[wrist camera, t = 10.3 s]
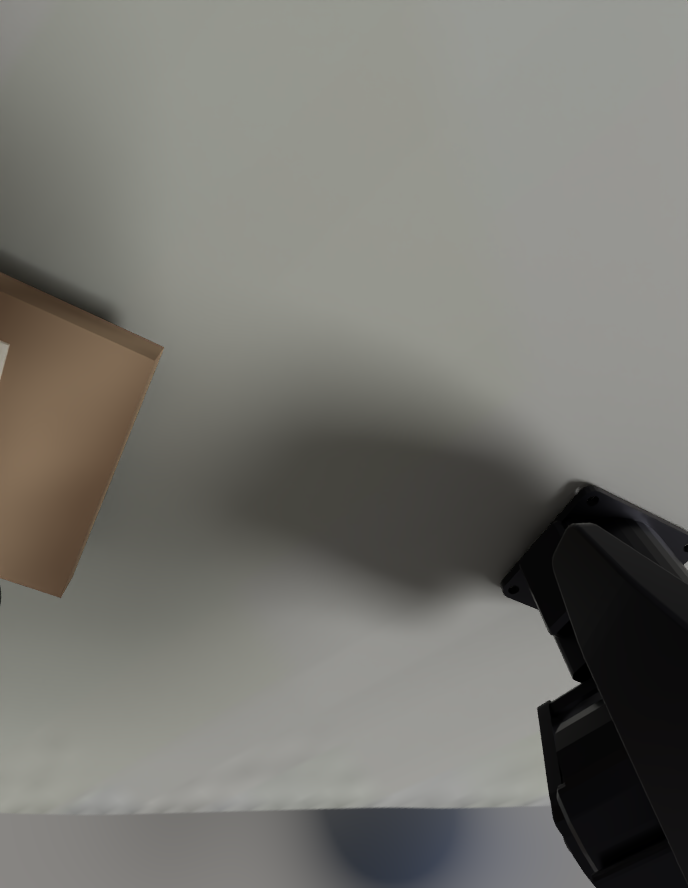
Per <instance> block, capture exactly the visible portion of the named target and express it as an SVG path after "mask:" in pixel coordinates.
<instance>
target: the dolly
mask: <svg viewBox="0 0 688 888" xmlns="http://www.w3.org/2000/svg"><path fill="white" fill-rule="evenodd" d="M163 349H164V347H162V346H160V345H158V344H156V343H154V342H151V341H149V340H147V339H145V338H143V337H141V336H138V335H136V334H134V333H132V332H130V331H127V330H125V329H123V328H121V327H119V326H117V325H114V324H112V323H110V322H108V321H106V320H104V319H101V318H99V317H97V316H95V315H93V314H91V313H88V312H86V311H84V310H82V309H80V308H77V307H75V306H73V305H71V304H69V303H67V302H64V301H62V300H60V299H58V298H56V297H54V296H51V295H49V294H47V293H45V292H43V291H40V290H38V289H36V288H34V287H32V286H30V285H27V284H25V283H23V282H21V281H19V280H17V279H14V278H12V277H10V276H8V275H6V274H3V273H1V272H0V578H2V579H5V580H8V581H11V582H14V583H17V584H20V585H23V586H26V587H29V588H32V589H35V590H38V591H41V592H44V593H47V594H51V595H54V596H57V597H60V598H61V596H62V595H63V593H64V591H65V589H66V588H67V586H68V584H69V582H70V580H71V579H72V577H73V575H74V572H75V570H76V567H77V565H78V562H79V560H80V557H81V555H82V552H83V550H84V547H85V545H86V542H87V539H88V537H89V534H90V532H91V529H92V527H93V524H94V522H95V519H96V517H97V514H98V512H99V509H100V507H101V504H102V502H103V499H104V497H105V494H106V492H107V489H108V487H109V484H110V482H111V479H112V477H113V474H114V472H115V469H116V467H117V464H118V462H119V459H120V457H121V454H122V452H123V449H124V447H125V444H126V442H127V439H128V437H129V434H130V432H131V429H132V427H133V424H134V422H135V419H136V417H137V414H138V412H139V409H140V407H141V404H142V402H143V399H144V397H145V394H146V392H147V389H148V387H149V384H150V382H151V379H152V377H153V374H154V372H155V369H156V367H157V364H158V362H159V359H160V357H161V354H162V352H163Z"/></svg>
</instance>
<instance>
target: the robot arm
mask: <svg viewBox="0 0 688 888" xmlns="http://www.w3.org/2000/svg"><path fill="white" fill-rule="evenodd" d="M592 496H594V498H593V499H592V500H589V501H587V500H588V498H590V497H592ZM687 544H688V532H687V531H685V530H683V529H681V528H679V527H677V526H675V525H673V524H671V523H669V522H667V521H665V520H663V519H661V518H659V517H657V516H655V515H653V514H651V513H649V512H647V511H645V510H643V509H641V508H639V507H637V506H635V505H633V504H631V503H628V502H626V501H624V500H622V499H620V498H618V497H616V496H614V495H612V494H610V493H608V492H606V491H604V490H602V489H600V488H598V487H596V486H587V487H585V488H583V489H582V490H580V491H579V493H578V494H577V495H576V496H575V497H574V498H573V499H572V501H571V502H570V503H569V504H568V505H567V506H566V507H565V509H564V510H563V511H562V512H561V513H560V514H559V516H558V517H557V518H556V519H555V520H554V521H553V522H552V524H551V525H550V526H549V527H548V528H547V529H546V530H545V532H544V533H543V534H542V535H541V536H540V537H539V539H538V540H537V541H536V542H535V543H534V544H533V545H532V547H531V548H530V549H529V550H528V551H527V552H526V554H525V555H524V556H523V557H522V558H521V559H520V560H519V562H518V563H517V564H516V565H515V566H514V567H513V568H512V570H511V571H510V572H509V573H508V574H507V575H506V577H505V578H504V579H503V580H502V582H501V589H502V591H503V593H504V595H505V596H506V597H508V598H511V599H513V600H516V601H518V602H521V603H523V604H525V605H528V606H530V607H533V608H535V609H538V610H539V612H540V614H541V616H542V619H543V621H544V623H545V625H546V627H547V630H548V632H549V633H550V634H551V635H553V636H554V638H555V641H556V643H557V645H558V647H559V649H560V652H561V654H562V656H563V658H564V661H565V663H566V665H567V667H568V669H569V672H570V674H571V676H572V678H573V679H574V680H575V681H578V682H580V683H581V684H579V685H578V686H576V687H575V688H573V689H571V690H570V691H568V692H567V693H565V694H563V695H562V696H560V697H559V698H557V699H555V700H554V701H552V702H551V701H550V700H549V701H547V702H545V703H544V704H542V705H541V706H539V707H537V710H538V718H539V725H540V732H541V740H542V747H543V754H544V761H545V769H546V776H547V783H548V791H549V797H550V801H551V808H552V815H553V820H554V822H555V825H556V827H557V828H558V830H559V831H560V833H561V834H562V836H563V838H564V842H565V844H566V846H567V848H568V849H569V851H570V852H571V853H572V854H573V856H574V858H575V859H576V861H577V862H578V864H579V866H580V867H581V869H582V870H583V872H584V873H585V874H586V876H587V877H588V878H589V879H590V881H591V882H592V883H593V885H594V886H595V887H596V888H688V570H687V569H686V568H685V567H684V564H685V563H686V562H687V561H688V545H687ZM685 545H686V546H685ZM511 586H514V587H512V588H510V587H511ZM0 604H1V587H0Z"/></svg>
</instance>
